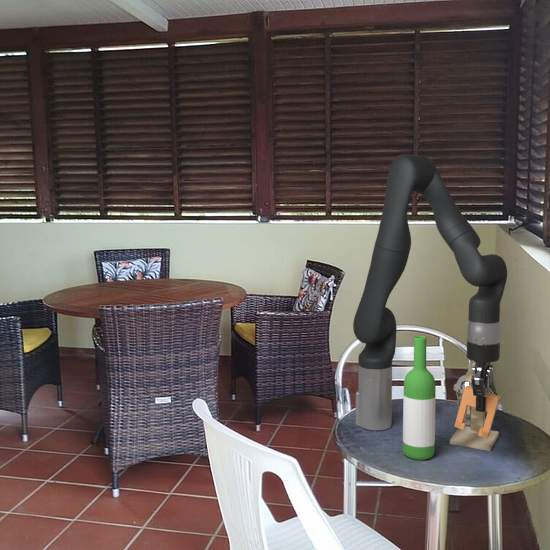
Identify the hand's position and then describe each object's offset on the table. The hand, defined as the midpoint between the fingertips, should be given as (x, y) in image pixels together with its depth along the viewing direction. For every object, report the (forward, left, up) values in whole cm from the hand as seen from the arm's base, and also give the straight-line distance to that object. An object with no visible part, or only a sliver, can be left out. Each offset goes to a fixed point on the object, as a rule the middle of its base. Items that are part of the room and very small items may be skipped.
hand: (481, 409), depth 159 cm
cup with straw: (-8, +24, -13) cm, 28 cm away
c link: (-2, 0, -6) cm, 6 cm away
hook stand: (-4, +11, -13) cm, 17 cm away
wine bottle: (-14, -3, -13) cm, 20 cm away
